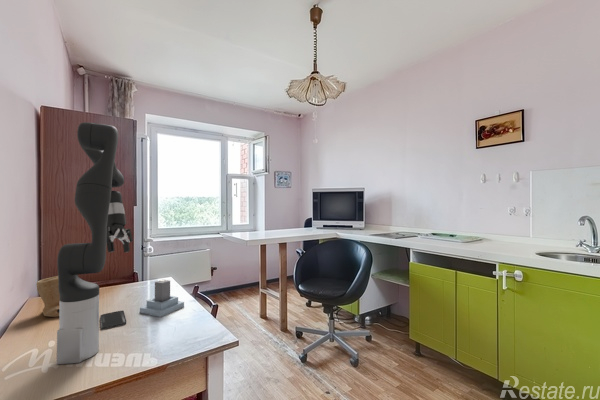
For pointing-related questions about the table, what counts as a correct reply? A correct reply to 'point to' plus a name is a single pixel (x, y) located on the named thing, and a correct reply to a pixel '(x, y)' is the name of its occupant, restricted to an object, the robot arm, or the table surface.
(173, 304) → the outlet box
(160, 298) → the block
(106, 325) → the phone
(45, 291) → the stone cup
